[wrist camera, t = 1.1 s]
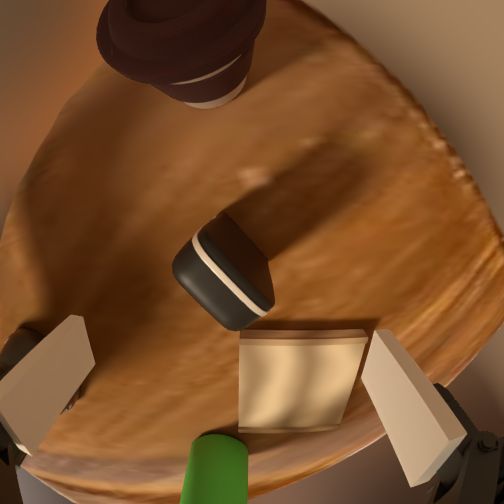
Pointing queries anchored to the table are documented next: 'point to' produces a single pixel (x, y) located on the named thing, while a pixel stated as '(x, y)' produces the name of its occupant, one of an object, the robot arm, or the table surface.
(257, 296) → the battery charger
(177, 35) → the coffee cup
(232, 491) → the bottle
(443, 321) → the table surface
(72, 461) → the table surface
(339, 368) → the board
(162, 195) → the table surface
